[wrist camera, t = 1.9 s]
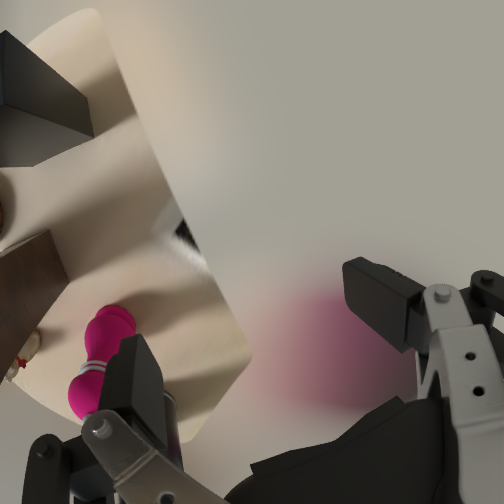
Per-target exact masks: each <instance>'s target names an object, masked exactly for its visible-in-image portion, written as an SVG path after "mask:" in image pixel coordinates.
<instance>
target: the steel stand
mask: <svg viewBox="0 0 504 504" xmlns="http://www.w3.org/2000/svg"><path fill="white" fill-rule="evenodd" d="M92 139H94V134H93V129H92V124H91V119H90V113H89V108H88V102H87V98H86V97H85V96H84V95H83V94H82V93H81V92H79V91H78V90H77V89H76V88H75V87H73V86H72V85H71V84H70V83H69V82H68V81H66V80H65V79H64V78H63V77H62V76H60V75H59V74H58V73H57V72H56V71H55V70H53V69H52V68H51V67H50V66H49V65H47V64H46V63H45V62H44V61H43V60H41V59H40V58H39V57H38V56H37V55H36V54H34V53H33V52H32V51H31V50H30V49H28V48H27V47H26V46H25V45H23V44H22V43H21V42H20V41H19V40H18V39H16V38H15V37H14V36H13V35H11V34H10V33H9V32H8V31H7V30H5V31H3V32H2V33H0V168H3V167H33V166H35V165H37V164H39V163H41V162H43V161H45V160H47V159H49V158H51V157H53V156H55V155H57V154H59V153H61V152H64V151H66V150H68V149H70V148H73V147H75V146H77V145H80V144H82V143H84V142H87V141H89V140H92Z"/></svg>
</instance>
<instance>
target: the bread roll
mask: <svg viewBox="0 0 504 504" xmlns="http://www.w3.org/2000/svg"><path fill="white" fill-rule="evenodd" d="M1 228H2V211H1V203H0V232H1Z"/></svg>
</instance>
